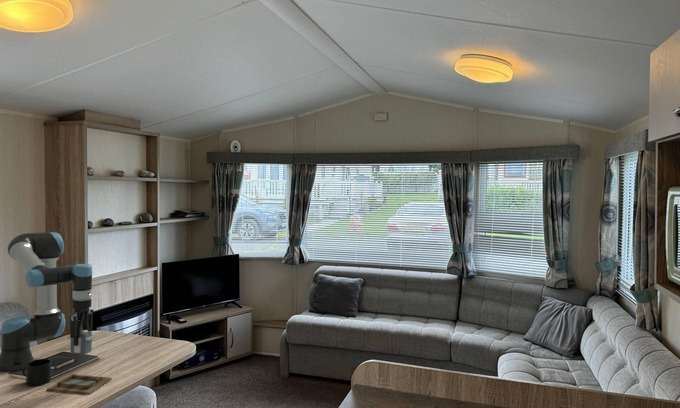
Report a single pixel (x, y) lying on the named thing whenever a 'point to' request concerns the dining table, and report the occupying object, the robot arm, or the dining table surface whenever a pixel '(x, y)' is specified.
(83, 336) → the servo
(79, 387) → the tray
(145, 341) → the dining table surface
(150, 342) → the dining table surface
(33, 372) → the mug
